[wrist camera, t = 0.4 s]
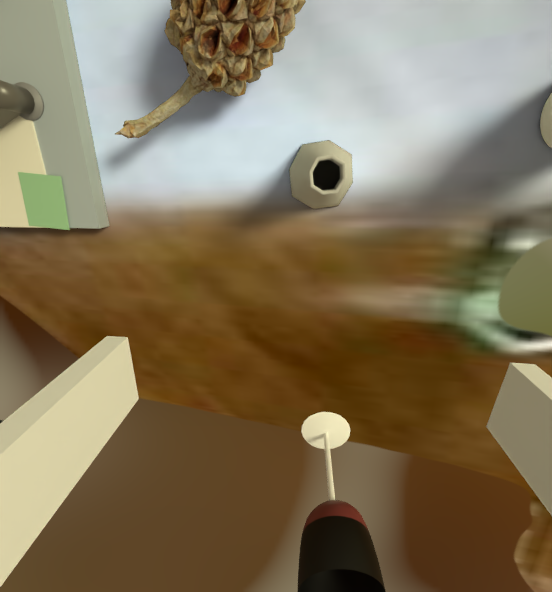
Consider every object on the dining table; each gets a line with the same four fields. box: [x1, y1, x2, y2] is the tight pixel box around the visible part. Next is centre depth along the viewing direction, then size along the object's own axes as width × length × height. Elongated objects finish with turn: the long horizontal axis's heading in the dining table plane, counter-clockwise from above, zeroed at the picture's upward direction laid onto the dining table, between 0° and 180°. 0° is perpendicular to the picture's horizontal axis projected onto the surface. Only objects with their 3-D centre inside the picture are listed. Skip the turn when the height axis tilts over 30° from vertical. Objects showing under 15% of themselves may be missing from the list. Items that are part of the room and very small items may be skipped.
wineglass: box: [298, 412, 385, 592], centre depth 38 cm, size 8×9×20 cm
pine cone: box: [115, 0, 306, 138], centre depth 26 cm, size 22×10×10 cm, turn 135°
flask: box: [289, 140, 353, 209], centre depth 29 cm, size 7×7×10 cm
